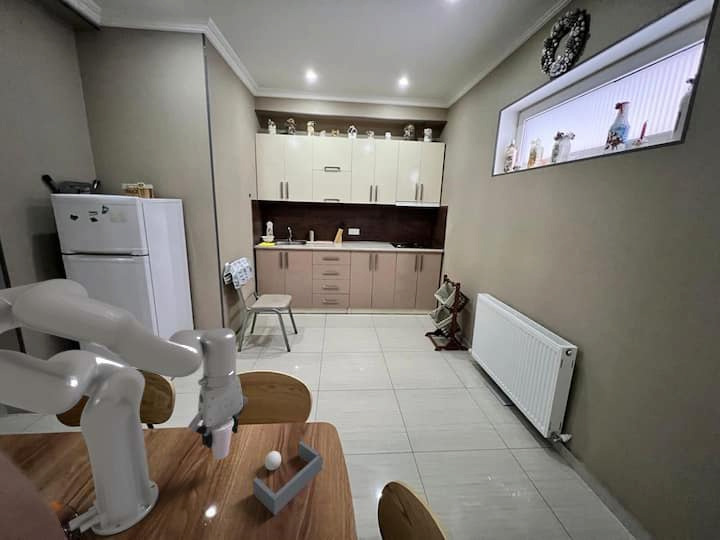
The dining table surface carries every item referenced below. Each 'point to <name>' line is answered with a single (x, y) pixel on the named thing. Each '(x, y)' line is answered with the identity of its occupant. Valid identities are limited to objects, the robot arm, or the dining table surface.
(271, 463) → the ball
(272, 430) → the dining table surface
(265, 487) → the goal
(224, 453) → the smoothie
